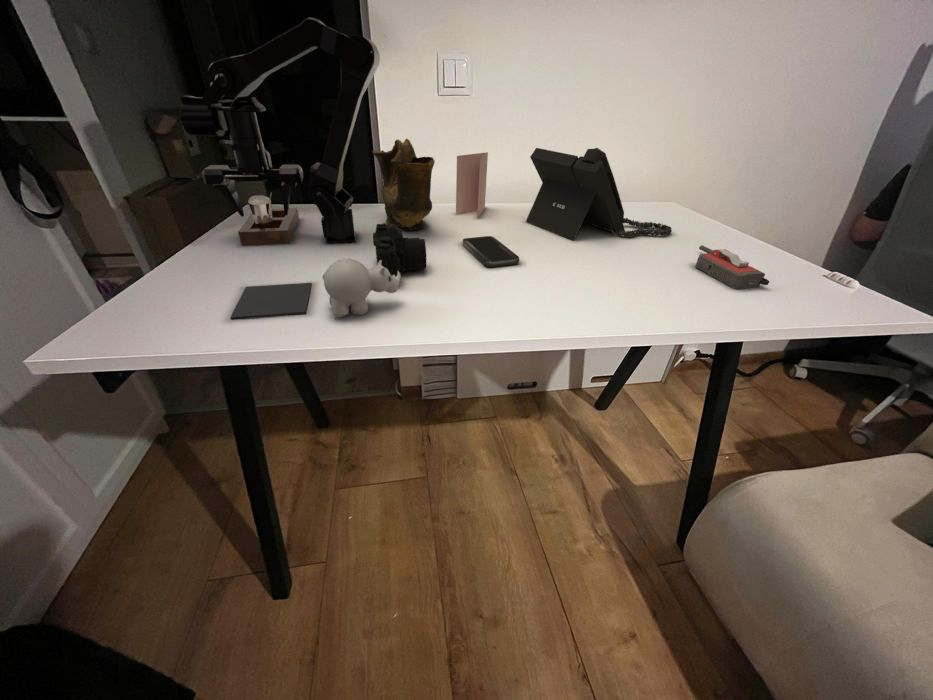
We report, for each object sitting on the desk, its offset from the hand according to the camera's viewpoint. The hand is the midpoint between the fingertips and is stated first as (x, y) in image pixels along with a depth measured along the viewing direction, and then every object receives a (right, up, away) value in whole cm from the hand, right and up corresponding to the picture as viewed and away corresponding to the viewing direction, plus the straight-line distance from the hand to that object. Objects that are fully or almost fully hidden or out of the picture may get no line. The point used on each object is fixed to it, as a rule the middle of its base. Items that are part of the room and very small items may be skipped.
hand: (265, 215), depth 90 cm
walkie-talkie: (+99, -13, -5) cm, 100 cm away
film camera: (+32, -15, -11) cm, 37 cm away
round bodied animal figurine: (+29, -23, -23) cm, 44 cm away
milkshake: (0, -4, +3) cm, 5 cm away
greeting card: (+48, +9, +25) cm, 55 cm away
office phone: (+80, +3, +18) cm, 82 cm away
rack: (-1, -2, +6) cm, 6 cm away
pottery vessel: (+30, +2, +13) cm, 33 cm away
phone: (+50, -9, -1) cm, 51 cm away
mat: (+13, -22, -22) cm, 34 cm away
